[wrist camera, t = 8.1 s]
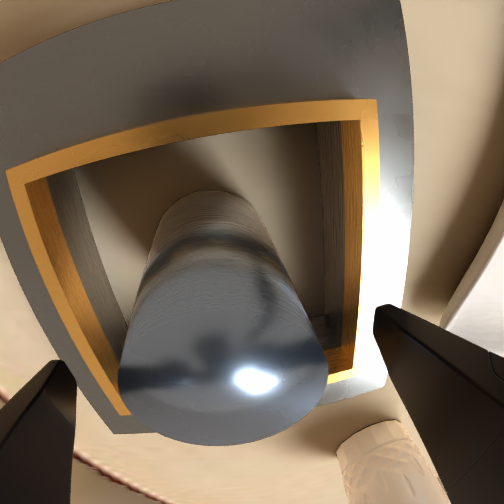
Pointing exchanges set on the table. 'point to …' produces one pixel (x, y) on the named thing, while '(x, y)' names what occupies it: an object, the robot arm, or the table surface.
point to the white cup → (387, 468)
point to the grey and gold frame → (200, 125)
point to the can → (218, 330)
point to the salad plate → (481, 295)
